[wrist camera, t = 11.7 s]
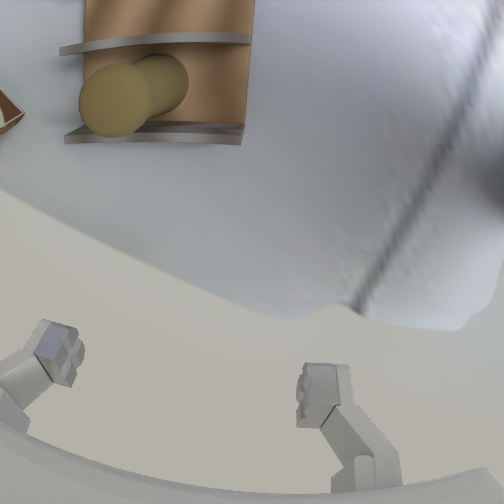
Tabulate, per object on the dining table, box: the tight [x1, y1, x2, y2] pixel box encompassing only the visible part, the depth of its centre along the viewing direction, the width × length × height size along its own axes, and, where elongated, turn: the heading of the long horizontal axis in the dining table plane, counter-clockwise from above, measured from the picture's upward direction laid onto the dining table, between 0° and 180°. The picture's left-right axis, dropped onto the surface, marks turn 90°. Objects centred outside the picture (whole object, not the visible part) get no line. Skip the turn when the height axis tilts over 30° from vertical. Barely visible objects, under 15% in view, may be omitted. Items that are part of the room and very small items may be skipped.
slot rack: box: [59, 0, 255, 145], centre depth 22 cm, size 16×17×6 cm
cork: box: [79, 53, 189, 138], centre depth 21 cm, size 6×6×11 cm
